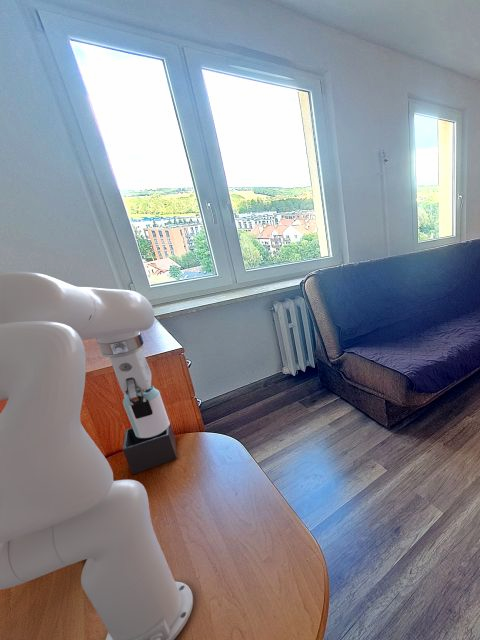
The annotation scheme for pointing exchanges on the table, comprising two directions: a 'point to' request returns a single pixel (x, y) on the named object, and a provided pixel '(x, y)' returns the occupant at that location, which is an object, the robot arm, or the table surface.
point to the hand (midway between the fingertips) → (145, 407)
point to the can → (151, 423)
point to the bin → (149, 450)
